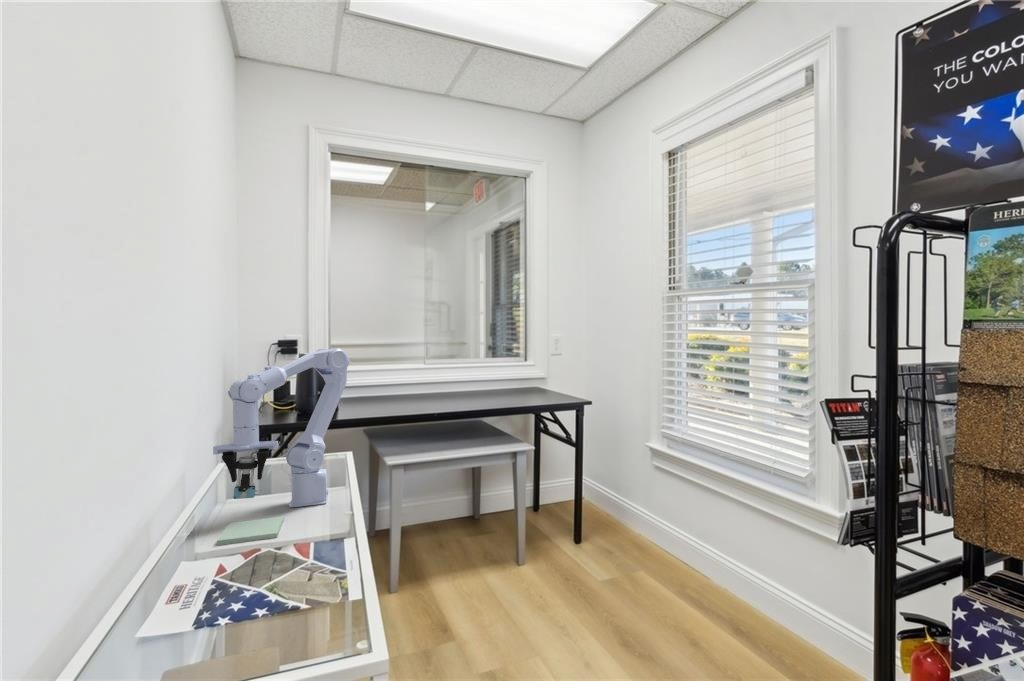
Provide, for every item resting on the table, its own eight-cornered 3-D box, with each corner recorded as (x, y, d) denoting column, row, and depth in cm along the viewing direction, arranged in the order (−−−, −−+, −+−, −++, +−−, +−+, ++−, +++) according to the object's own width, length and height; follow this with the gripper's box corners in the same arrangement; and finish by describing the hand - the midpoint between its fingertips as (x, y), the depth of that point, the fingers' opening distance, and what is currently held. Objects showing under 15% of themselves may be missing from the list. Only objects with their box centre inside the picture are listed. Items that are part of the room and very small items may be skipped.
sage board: (283, 520, 123) (283, 516, 123) (277, 537, 112) (277, 532, 112) (229, 527, 120) (229, 522, 120) (217, 545, 108) (217, 540, 108)
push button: (262, 494, 129) (265, 455, 129) (261, 499, 124) (264, 459, 125) (233, 495, 126) (236, 456, 127) (230, 501, 121) (234, 459, 122)
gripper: (209, 431, 120) (210, 487, 119) (275, 426, 124) (276, 480, 124) (216, 426, 126) (217, 480, 126) (279, 422, 131) (279, 474, 130)
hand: (247, 479), depth 125 cm, fingers closed on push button, 5 cm apart
